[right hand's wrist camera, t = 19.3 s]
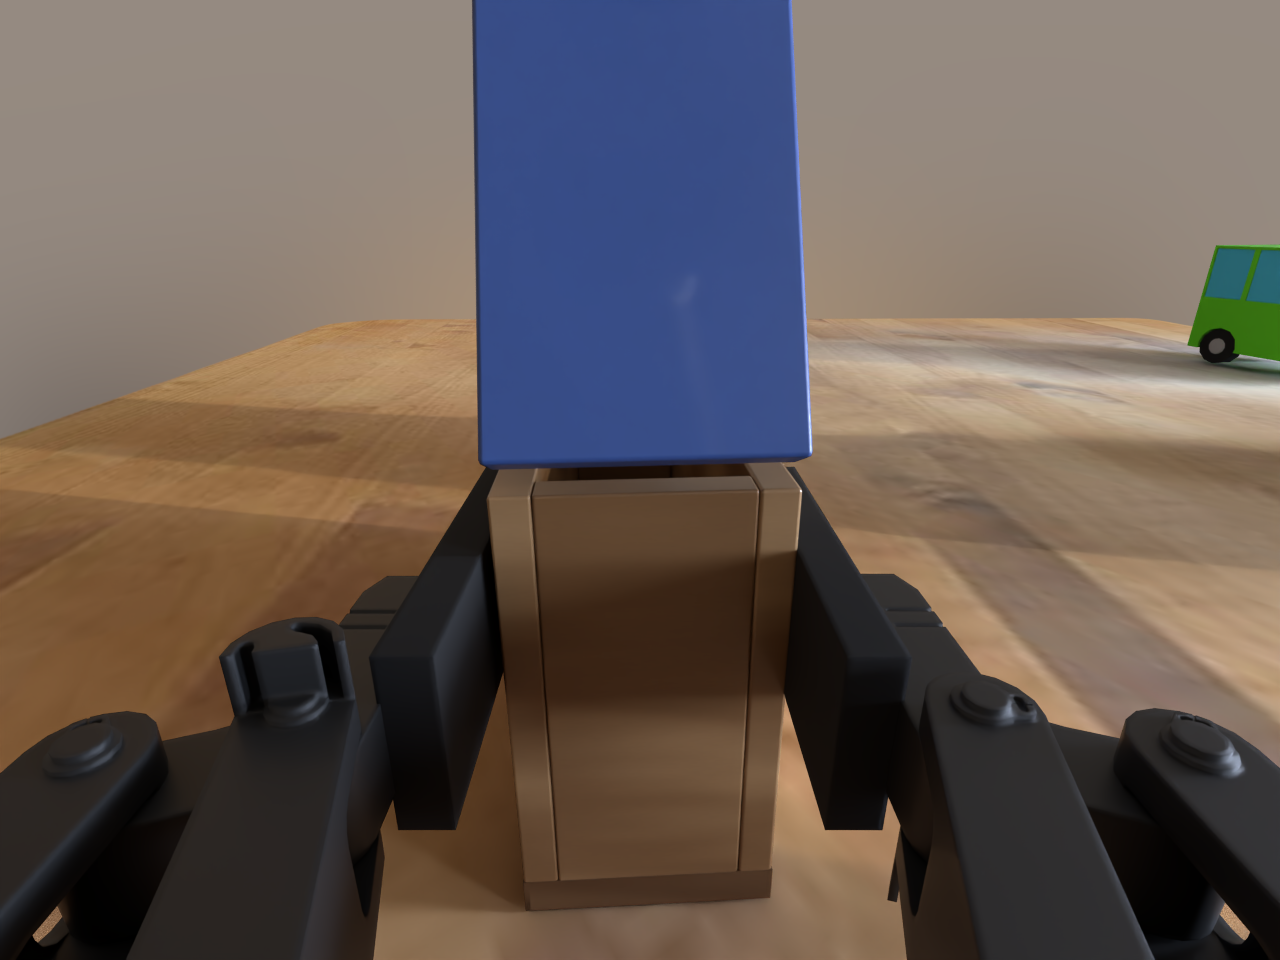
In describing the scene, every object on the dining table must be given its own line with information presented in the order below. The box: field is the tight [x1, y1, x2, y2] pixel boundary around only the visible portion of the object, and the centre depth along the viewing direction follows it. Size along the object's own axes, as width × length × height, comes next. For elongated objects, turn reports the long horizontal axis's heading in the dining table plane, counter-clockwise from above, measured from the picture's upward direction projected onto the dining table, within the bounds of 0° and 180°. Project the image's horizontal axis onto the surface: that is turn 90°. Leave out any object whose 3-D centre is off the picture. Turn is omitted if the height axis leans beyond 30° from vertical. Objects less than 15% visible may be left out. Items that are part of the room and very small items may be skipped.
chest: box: [487, 462, 802, 911], centre depth 18 cm, size 15×5×9 cm, turn 3°
